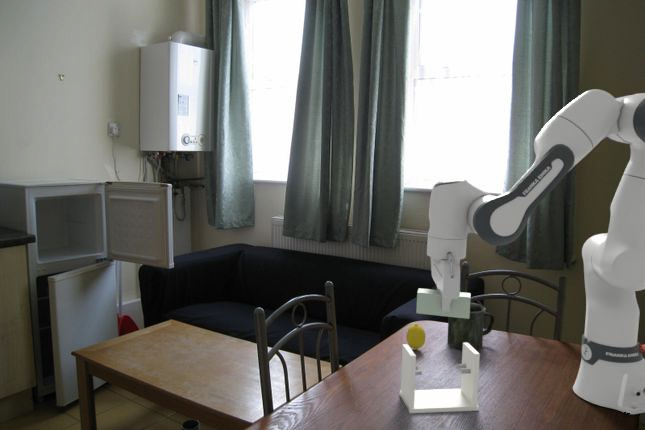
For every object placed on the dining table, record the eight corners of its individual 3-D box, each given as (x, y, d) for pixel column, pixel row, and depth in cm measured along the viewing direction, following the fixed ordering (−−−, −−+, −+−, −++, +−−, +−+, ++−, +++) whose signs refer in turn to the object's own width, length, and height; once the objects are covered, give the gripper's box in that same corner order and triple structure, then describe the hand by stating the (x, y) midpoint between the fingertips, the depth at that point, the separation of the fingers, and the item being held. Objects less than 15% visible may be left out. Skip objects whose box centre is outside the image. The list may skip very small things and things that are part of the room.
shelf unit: (463, 392, 125) (466, 341, 124) (478, 410, 116) (481, 355, 115) (399, 394, 123) (401, 342, 122) (410, 413, 115) (412, 357, 113)
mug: (440, 339, 161) (442, 302, 160) (484, 337, 163) (486, 301, 162) (453, 352, 151) (455, 312, 149) (500, 350, 152) (502, 311, 151)
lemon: (424, 354, 149) (425, 327, 148) (405, 352, 150) (406, 326, 149) (425, 347, 154) (426, 321, 153) (406, 345, 155) (407, 320, 154)
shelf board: (416, 313, 120) (417, 292, 120) (417, 308, 124) (418, 288, 123) (469, 318, 117) (470, 297, 116) (469, 313, 121) (470, 293, 120)
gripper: (469, 258, 108) (465, 321, 110) (453, 242, 128) (450, 295, 130) (438, 257, 109) (435, 320, 110) (427, 241, 129) (425, 294, 131)
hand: (443, 306), depth 120 cm, fingers closed on shelf board, 4 cm apart
